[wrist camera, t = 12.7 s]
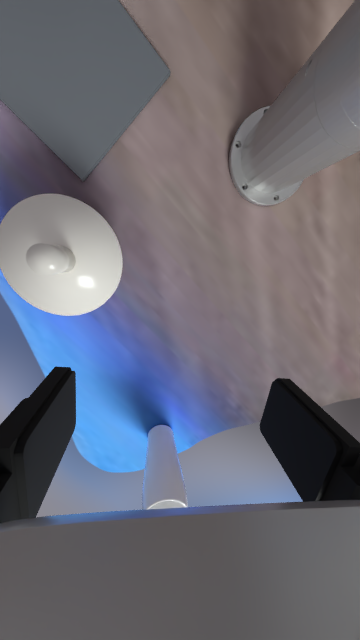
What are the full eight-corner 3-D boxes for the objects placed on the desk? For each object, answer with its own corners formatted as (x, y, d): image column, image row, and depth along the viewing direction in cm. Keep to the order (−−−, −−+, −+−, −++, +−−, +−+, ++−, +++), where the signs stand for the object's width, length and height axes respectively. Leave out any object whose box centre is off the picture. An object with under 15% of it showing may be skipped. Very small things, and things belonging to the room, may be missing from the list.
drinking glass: (137, 435, 44) (131, 520, 30) (161, 414, 43) (166, 491, 29) (159, 451, 46) (164, 539, 32) (183, 432, 45) (198, 512, 31)
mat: (49, -88, 23) (47, -97, 22) (170, 75, 28) (170, 71, 28) (-46, 54, 25) (-50, 49, 24) (83, 181, 30) (82, 180, 30)
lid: (48, 165, 24) (19, 138, 19) (145, 257, 29) (144, 257, 23) (-25, 261, 26) (-72, 262, 20) (77, 334, 30) (61, 351, 25)
